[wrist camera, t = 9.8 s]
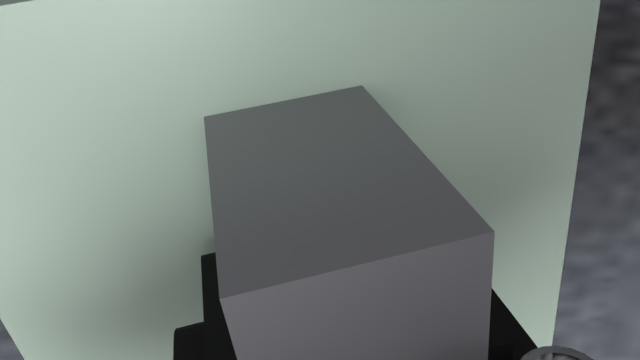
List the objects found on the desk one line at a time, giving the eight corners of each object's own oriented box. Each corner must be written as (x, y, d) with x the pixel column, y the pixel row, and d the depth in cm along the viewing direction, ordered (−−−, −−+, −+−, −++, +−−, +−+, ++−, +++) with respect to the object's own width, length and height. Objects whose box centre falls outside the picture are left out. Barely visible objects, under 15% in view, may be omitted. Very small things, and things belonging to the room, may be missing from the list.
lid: (577, -96, 10) (971, -82, 5) (528, 356, 17) (679, 563, 12) (-132, 19, 9) (-601, 208, 3) (115, 473, 15) (80, 775, 10)
